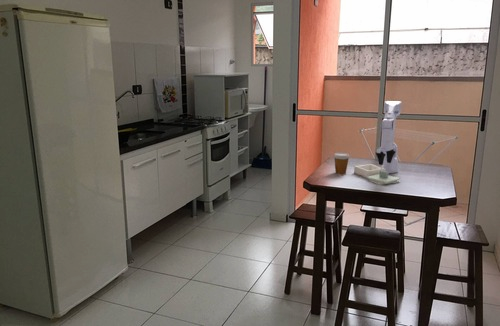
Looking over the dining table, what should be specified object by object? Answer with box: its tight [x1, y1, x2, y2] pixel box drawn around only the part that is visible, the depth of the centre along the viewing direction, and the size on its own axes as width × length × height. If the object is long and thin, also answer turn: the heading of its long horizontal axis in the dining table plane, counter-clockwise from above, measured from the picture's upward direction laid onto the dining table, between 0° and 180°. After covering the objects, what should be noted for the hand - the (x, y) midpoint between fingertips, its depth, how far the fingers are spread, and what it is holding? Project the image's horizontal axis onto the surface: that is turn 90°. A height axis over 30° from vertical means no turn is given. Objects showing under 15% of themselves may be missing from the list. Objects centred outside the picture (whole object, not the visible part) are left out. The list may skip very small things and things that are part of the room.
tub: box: [353, 163, 386, 179], centre depth 254 cm, size 13×13×4 cm
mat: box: [368, 179, 400, 186], centre depth 241 cm, size 14×10×1 cm
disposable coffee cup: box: [333, 152, 350, 175], centre depth 257 cm, size 10×10×12 cm
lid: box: [366, 171, 401, 185], centre depth 240 cm, size 13×13×5 cm
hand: (384, 163), depth 238 cm, fingers open, 7 cm apart
